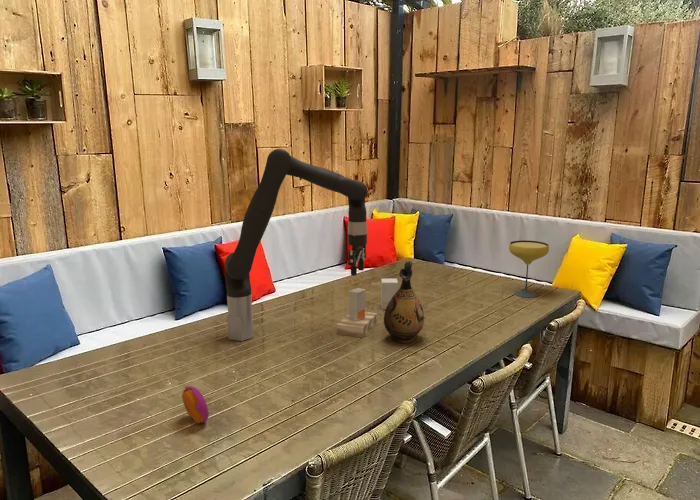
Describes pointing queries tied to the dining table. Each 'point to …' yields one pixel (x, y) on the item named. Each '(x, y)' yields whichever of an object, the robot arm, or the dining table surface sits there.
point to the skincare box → (357, 304)
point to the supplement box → (388, 291)
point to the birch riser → (357, 325)
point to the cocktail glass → (528, 257)
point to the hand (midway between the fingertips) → (357, 272)
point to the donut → (195, 404)
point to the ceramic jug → (404, 311)
